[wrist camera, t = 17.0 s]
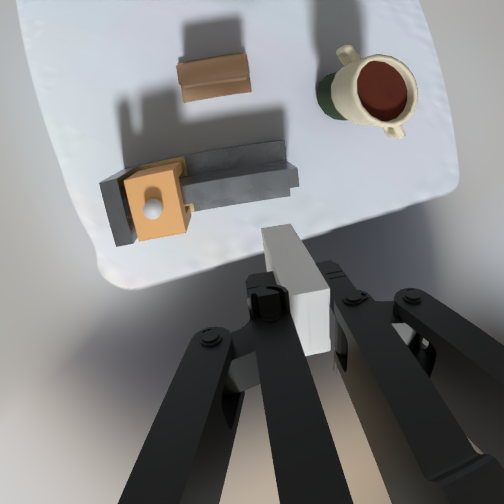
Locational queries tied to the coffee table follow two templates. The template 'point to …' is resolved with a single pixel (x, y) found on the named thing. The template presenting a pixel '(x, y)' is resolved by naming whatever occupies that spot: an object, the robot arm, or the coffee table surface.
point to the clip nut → (157, 202)
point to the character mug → (370, 91)
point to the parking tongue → (214, 77)
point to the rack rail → (209, 182)
